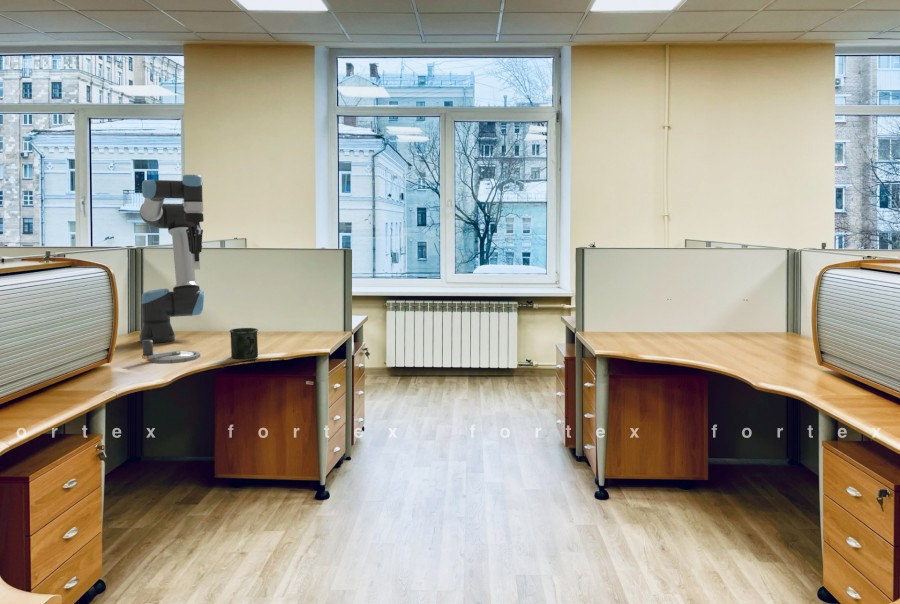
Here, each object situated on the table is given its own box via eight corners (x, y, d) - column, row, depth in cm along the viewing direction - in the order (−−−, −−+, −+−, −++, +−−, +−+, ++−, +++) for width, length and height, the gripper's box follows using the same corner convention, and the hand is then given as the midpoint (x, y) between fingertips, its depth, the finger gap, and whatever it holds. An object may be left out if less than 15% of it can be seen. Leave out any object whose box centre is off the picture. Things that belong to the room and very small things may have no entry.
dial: (181, 353, 288) (180, 332, 287) (200, 357, 279) (200, 336, 278) (134, 360, 272) (133, 339, 271) (153, 365, 264) (152, 343, 263)
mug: (252, 356, 288) (251, 326, 287) (267, 361, 277) (266, 331, 275) (226, 359, 281) (225, 329, 280) (240, 365, 270) (238, 334, 269)
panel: (126, 367, 265) (126, 361, 265) (155, 354, 291) (155, 348, 291) (196, 367, 265) (195, 361, 265) (218, 354, 291) (218, 349, 291)
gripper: (179, 212, 297) (181, 268, 300) (190, 212, 287) (192, 270, 290) (196, 212, 302) (199, 268, 305) (208, 212, 292) (210, 269, 295)
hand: (196, 269), depth 297 cm, fingers closed
